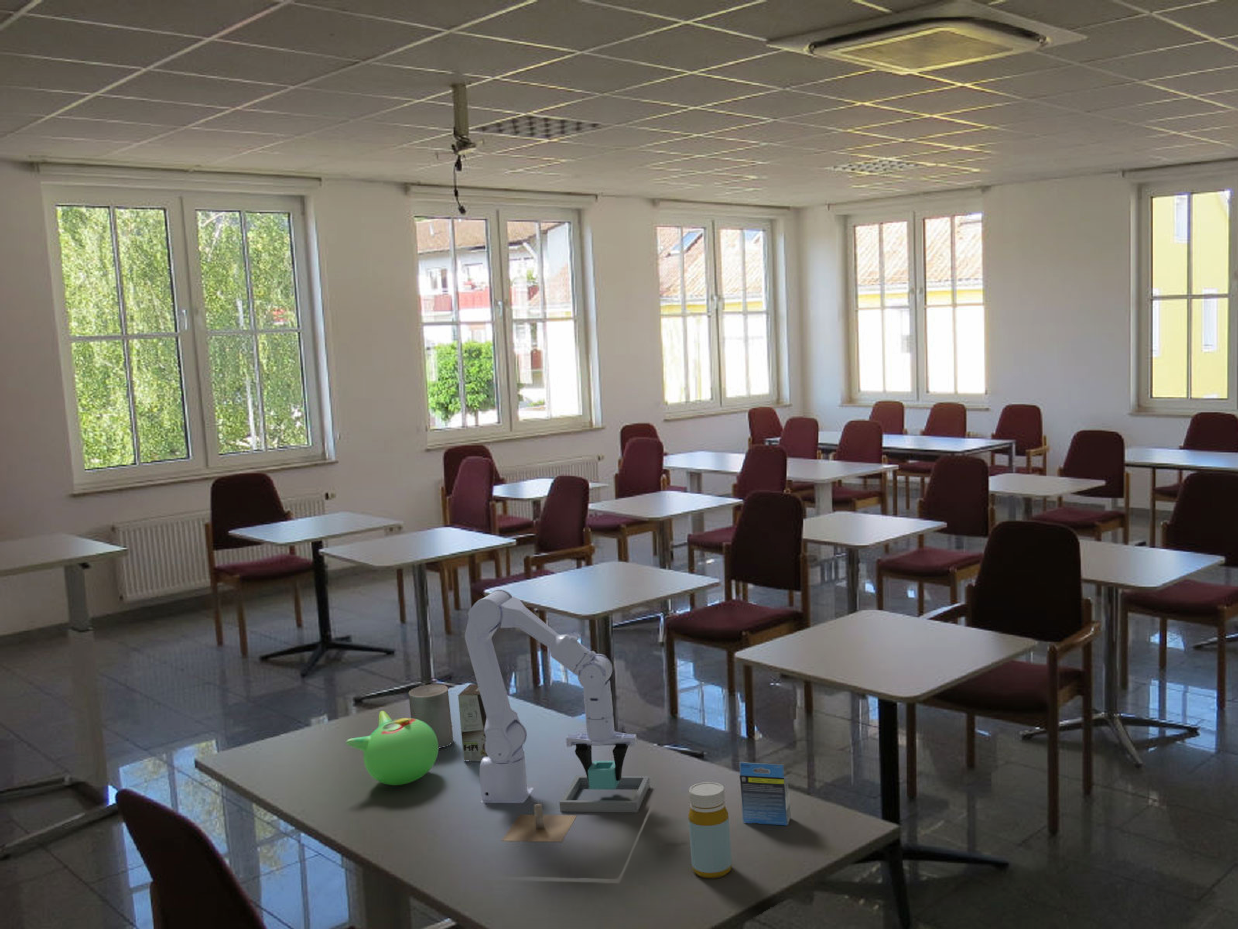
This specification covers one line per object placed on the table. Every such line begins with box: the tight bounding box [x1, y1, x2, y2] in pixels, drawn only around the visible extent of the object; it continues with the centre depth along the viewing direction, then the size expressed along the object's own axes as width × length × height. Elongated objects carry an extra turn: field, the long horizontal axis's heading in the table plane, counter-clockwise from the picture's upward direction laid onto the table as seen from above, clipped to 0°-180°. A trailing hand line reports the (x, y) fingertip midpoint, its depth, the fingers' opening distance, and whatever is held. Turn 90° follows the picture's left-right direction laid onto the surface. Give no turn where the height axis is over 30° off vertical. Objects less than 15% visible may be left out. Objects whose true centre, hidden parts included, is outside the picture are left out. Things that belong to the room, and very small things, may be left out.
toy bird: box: [345, 710, 439, 786], centre depth 254 cm, size 18×17×15 cm
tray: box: [559, 775, 651, 813], centre depth 235 cm, size 16×14×2 cm
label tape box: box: [739, 761, 792, 826], centre depth 218 cm, size 9×4×12 cm, turn 71°
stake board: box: [501, 803, 578, 843], centre depth 222 cm, size 12×12×5 cm
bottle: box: [688, 781, 733, 879], centre depth 199 cm, size 7×7×15 cm
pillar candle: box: [408, 683, 454, 748], centre depth 277 cm, size 10×10×15 cm
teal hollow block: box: [588, 760, 619, 790], centre depth 235 cm, size 5×7×4 cm
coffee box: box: [457, 683, 488, 762], centre depth 267 cm, size 9×6×16 cm
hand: (604, 779), depth 234 cm, fingers closed on teal hollow block, 5 cm apart
